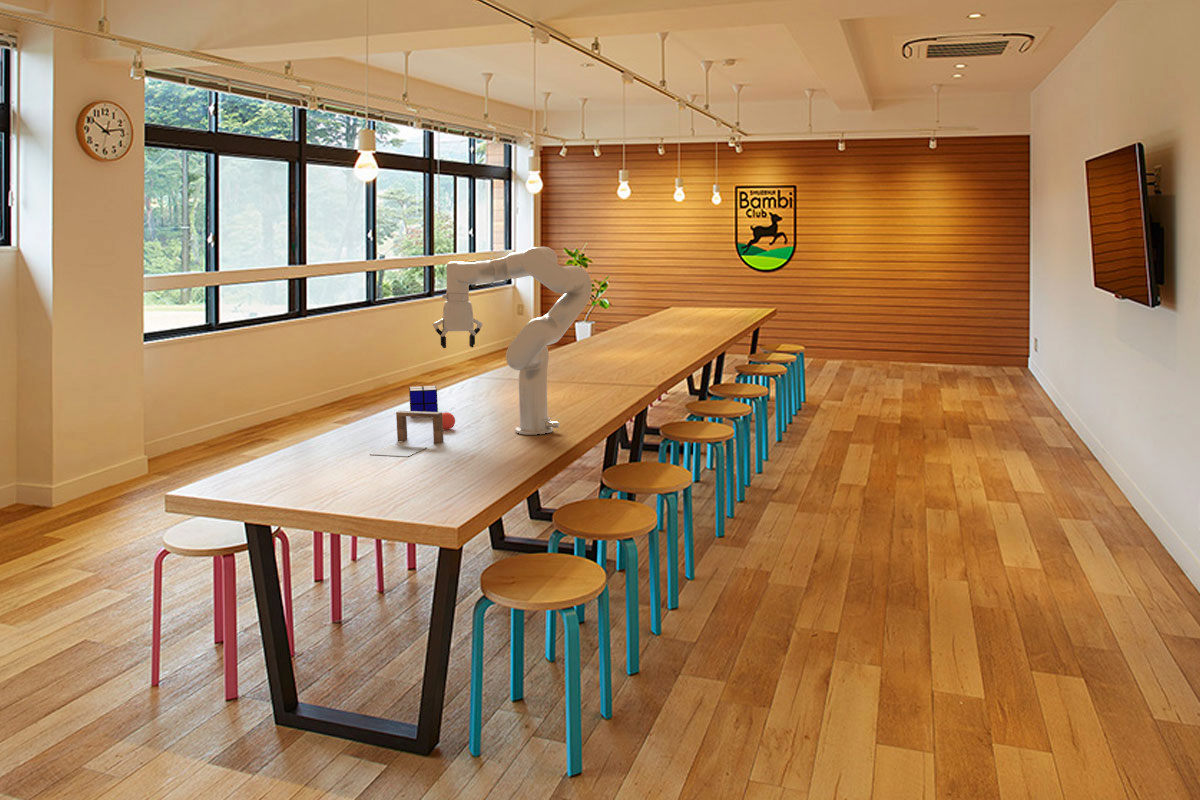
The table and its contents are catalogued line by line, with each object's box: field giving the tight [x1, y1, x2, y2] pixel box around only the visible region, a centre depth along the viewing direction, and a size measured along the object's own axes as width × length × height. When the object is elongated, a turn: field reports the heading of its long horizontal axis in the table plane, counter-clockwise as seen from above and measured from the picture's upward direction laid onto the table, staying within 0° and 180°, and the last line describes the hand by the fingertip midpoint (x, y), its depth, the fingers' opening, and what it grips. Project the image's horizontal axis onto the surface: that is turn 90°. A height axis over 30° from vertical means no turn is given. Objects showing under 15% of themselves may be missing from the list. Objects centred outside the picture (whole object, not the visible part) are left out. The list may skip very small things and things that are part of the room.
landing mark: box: [369, 445, 428, 458], centre depth 315 cm, size 13×13×1 cm
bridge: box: [395, 410, 444, 444], centre depth 329 cm, size 3×15×10 cm, turn 73°
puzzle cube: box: [408, 385, 439, 412], centre depth 377 cm, size 10×10×10 cm
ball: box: [442, 411, 456, 431], centre depth 348 cm, size 6×6×6 cm
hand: (457, 347), depth 349 cm, fingers open, 9 cm apart
